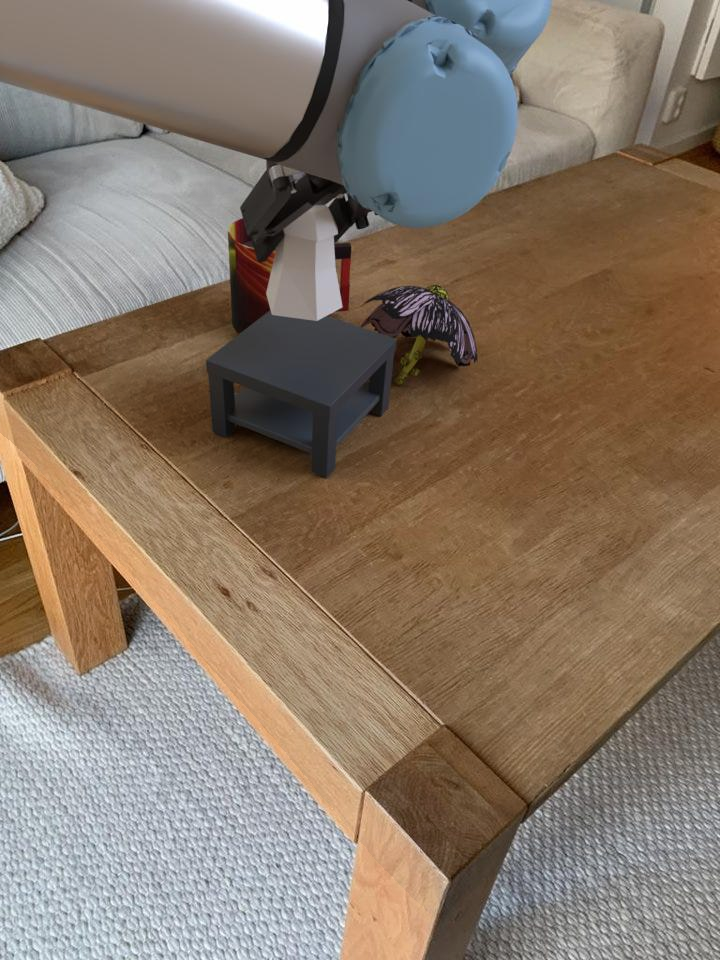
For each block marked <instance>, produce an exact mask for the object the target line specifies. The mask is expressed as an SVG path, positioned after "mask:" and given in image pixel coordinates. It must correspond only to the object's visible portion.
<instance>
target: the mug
mask: <svg viewBox="0 0 720 960" xmlns="http://www.w3.org/2000/svg"><path fill="white" fill-rule="evenodd" d="M227 243H228V244H227V245H228V263H229V264H228V266H229V268H228V269H229V284H230V286H229V287H230V307H231V309H230V310H231V325H232V328H233V329H234V331H235V332H236V333H237V334H238V335H239V334H240V333H241V332H243V331H244V330H245V329H247V328H248V327H249V326H250V325H252V324H253V323H254V322H256V321H257V320H258V319H260V318H261V317H262V316H263V315H265V314H266V313H267V312H269V311H270V306H269V302H268V298H267V295H266V292H267V288H268V283H269V279H270V275H271V270H272V266H273V262H274V257H275V252H276V248H275V249H274V251H273V252H272V253H271V255H270V256H269V257H268V259H267V260H266V261H265V262H259V263H258V261H257V258H256V254H255V251H254V247H253V244H252V241H251V237H250V236H248V233H247V230H246V227H245V223H244V220H243V217H242V218H239V219H236V220H235V221H234V222H232V223H231V224H230V225H229V226H228V229H227ZM334 250H335V260H341V261H340V279H339V280H340V281H339V282H340V283H339V290H340V296H341V301H342V308H340V309H338V310H337V311H335V312H349V309H350V292H351V291H350V290H351V283H350V279H351V278H350V277H351V262H352V244H351V242H339V243H335V244H334ZM335 312H334V313H335Z"/></svg>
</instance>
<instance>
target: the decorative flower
mask: <svg viewBox="0 0 720 960" xmlns="http://www.w3.org/2000/svg"><path fill="white" fill-rule="evenodd" d="M449 299H450V295H449V293H448V290H447V289H446V288H444V287H442V286H441V285H437V284H433V285H429V286H427V287H426V288H425V287H421V286H417V285H416V286H415V285H402V286H397V287H392V288H389V289H387V290H384V291H382V292H379V293H377V294H375V295H374V296H372V297H371V298H369V299H367V300H366V301H365V302H364V303H363V304H361V305H360V306H359V308H361V307H363V306H364V305H366V304H368V303H370V302H373V301H381V304H379V305H378V306H377V307H375V309H374V310H372V311H371V312H370V313H369V315H368V316H366V318H364V320H363V322H362V323H361V325H360V326H359V327H362V328H365V327H366V326H367V325H369V324H371V326H372V327H373V328H374V332H377V333H380V334H383V335H386V336H389V337H392V338H395V339H396V338H397V337H398V336H399V335H401V336H402V337H403V338H404V339H406V338H416V339H415V342H414V344H413V346H412V348H411V351H407V352H405V354H404V355H403V357H401V358H400V360H399V363H400V366H402V367H403V368H402V370H401V371H400V372H399V373H398V375H397V377H396V378H395V380H394V382H395V384H396V385H397V386H399V387H400V386H403V385H404V384H405V381H406V380H407V378H408V377H409V376H408V374H409V373H410V374H411V376H412V377H413V378H418V377H419V376H420V374H421V370H420V369H419V368H418V367H414V366H415V365H416V364H417V362H418V361H420V360H422V359H423V358H424V357H423V356H424V353H423V350H424V348H425V346H426V344H427V341H428V340H432V341H433V342H436V340H438V341H439V342H442V343H443V342H444V343H446V344H447V346H448V348H449V352H450V356H451V358H452V359H453V360H454V363H455V364H456V366H458V367H459V368H460V367H469V366H471V361H472V360H473V364H476V362H478V349H477V344H476V338H475V335H474V332H473V329H472V326H471V325H470V322H469V320H468V319H467V316H466V315H465V314H464V313H463V311H462V310H461V309H460V308H459V307H458V306H457V305H456V304H454V303H453V302H452V301H450V300H449Z"/></svg>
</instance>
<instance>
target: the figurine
mask: <svg viewBox="0 0 720 960" xmlns="http://www.w3.org/2000/svg"><path fill="white" fill-rule="evenodd" d="M347 194H348V192H347V193H345V194H339V195H338V196H336V197H335V198H343V196H344V195H347ZM335 198H334V199H335ZM328 207H329V206H327V204H326V205H315V206H313V207H312V208H311V209H309V210H308V211H307V212H305V213H304V214H303V215H301V216H300V217H299V218H297V219H296V220H295V221H293V222H292V223H291V224H289V225H288V226H287V227H285V228H284V229H283V230H284V234H285V236H284V237H283V239H282V240H281V241H280V243H279V244H278V245H277V247H276V252H275V257H274V262H273V266H272V270H271V275H270V279H269V283H268V288H267V292H266V295H267V298H268V302H269V306H270V310H271V313H272V315H277V316H284V317H291V318H299V319H306V320H313V321H318V320H320V319H322V318H324V317H325V316H329V315H331V314H333V313H335V311H336V312H338V311H337V310H338V309H340V308H342V301H341V296H340V283H339V281H338V280H339V279H338V274H337V269H336V268H337V267H336V259H335V250H334V235H337V234H338V226H337V224H336V222H335V220H334V218H333V216H332V214H331V212H330V210H329V208H328Z"/></svg>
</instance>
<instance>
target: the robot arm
mask: <svg viewBox="0 0 720 960" xmlns="http://www.w3.org/2000/svg"><path fill="white" fill-rule="evenodd" d="M552 1H553V0H0V83H4V84H7V85H10V86H13V87H17V88H19V89H20V88H21V89H24V90H28V91H30V92H34V93H37V94H41V95H45V96H47V97H52V98H54V99H58V100H61V101H64V102H68V103H71V104H74V105H78V106H81V107H85V108H89V109H92V110H95V111H98V112H102V113H104V114H105V113H106V114H108V115H112V116H115V117H119V118H122V119H126V120H129V121H132V122H136V123H139V124H143V125H146V126H150V127H153V128H156V129H160V130H163V131H167V132H169V133H173V134H177V135H180V136H184V137H187V138H190V139H193V140H197V141H201V142H203V143H208V144H210V145H214V146H218V147H221V148H223V149H227V150H231V151H235V152H237V153H240V154H244V155H248V156H251V157H255V158H258V159H262V160H265V164H266V165H265V166H266V169H265V171H264V172H263V174H262V175H261V177H260V178H259V179H258V180H257V182H256V183H255V185H254V186H253V188H252V190H251V191H250V192H249V194H248V195H247V197H246V198H245V199H244V201H243V202H242V204H241V205H240V207H239V211H240V213H241V217H242V218H243V220H244V223H245V227H246V230H247V233H248V236H250V237H251V241H252V244H253V247H254V251H255V254H256V258H257V261H258V263H259V262H265V261H266V260H267V259H268V257H269V256H270V255H271V253H272V252H273V251H274V249H275V248H276V247H277V245H278V244H279V243H280V241H281V240H282V239H283V237H284V236H285V234H284V230H283V229H284V228H285V227H287V226H288V225H289V224H291V223H292V222H293V221H295V220H296V219H297V218H299V217H300V216H301V215H303V214H304V213H305V212H307V211H308V210H309V209H311V208H312V207H313V206H315V205H326V206H327V204H328V203H330V204H329V205H328V206H327V207H328V208H329V210H330V212H331V214H332V216H333V218H334V220H335V222H336V224H337V226H338V234H337V235H334V244H337V242H338V241H339V240H340V239H341V238H342V237H343V235H345V233H347V231H348V230H349V229H350V228H352V227H353V226H354V224H355V227H356V230H363V229H366V228H368V227H369V226H370V222H369V218H368V216H369V213H371V212H373V214H374V216H379V217H380V218H381V219H383V220H385V221H386V222H389V223H391V224H392V225H395V226H400V227H403V228H408V229H426V228H427V229H428V228H433V227H434V228H435V227H439V226H442V225H444V224H447V223H450V222H452V221H454V220H456V219H458V218H460V217H461V216H463V215H465V214H466V213H467V212H469V211H470V210H472V209H473V208H474V207H475V206H477V205H478V204H479V203H480V202H481V201H482V200H483V199H484V198H485V197H486V196H487V195H488V193H489V192H490V191H491V190H492V188H493V187H494V186H495V184H496V183H497V181H498V179H499V178H500V175H501V173H502V171H503V169H504V168H505V167H506V165H507V162H508V158H509V156H510V155H511V153H512V150H513V147H514V144H515V141H516V134H517V132H518V131H517V130H518V119H519V118H518V115H519V113H518V112H519V111H518V107H519V106H518V99H517V92H516V90H515V85H514V82H513V79H512V77H511V75H512V74H513V72H515V71H516V69H517V67H518V65H519V63H520V61H521V59H523V57H524V56H525V55H526V54H527V52H528V51H529V50H530V48H531V47H532V46H533V44H534V43H535V42H536V41H537V39H539V37H540V36H541V35H542V33H543V31H544V29H545V27H546V25H547V23H548V21H549V18H550V13H551V9H552ZM347 192H348V194H345V193H347ZM339 194H344V196H343V198H335V197H336V196H338V195H339ZM346 197H347V199H346ZM331 201H332V202H331Z"/></svg>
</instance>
